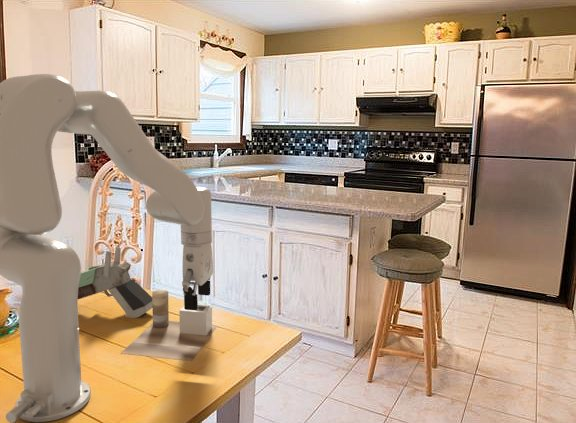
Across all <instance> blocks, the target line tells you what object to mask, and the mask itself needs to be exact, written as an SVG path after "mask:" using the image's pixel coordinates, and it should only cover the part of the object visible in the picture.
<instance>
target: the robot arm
mask: <svg viewBox="0 0 576 423" xmlns="http://www.w3.org/2000/svg"><path fill="white" fill-rule="evenodd" d="M57 132H58V133H59V132H61V133H68V134H76V135H77V134H78V135H91V136H92V137H93V138H94V140H95V141H96V142H97V143H98V145H99V146H100V147H101V148H102V150H103V151H104V152H105V154H106V155H107V156H108V157H109V159H110V160H111V161H112V163H113V164H114V166H115V167H116V168H117V170H119V171H120V172H121V173H122V174H124V175H125V176H126V177H129V178H130V179H132V180H134V181H136V182H138V183H140V184H142V185H144V186H146V187H149V188H150V189H152V190H154V191H153V192H151V193H150V195H148V197H147V199H146V202H145V209H146V212H147V213H148V215H149V216H150V217H151V218H153V220H154V219H155V220H156V221H161V222H164V223H169V224H170V223H171V224H176V225H180V244H181V245H183V246H182V247H183V248H182V282H181V285H182V292H183V293H182V294H183V296H184V297H183V302H184V304H183V306H184V308H185V310H197V309H198V305H199V304H198V295H199V296H210V295H211V277H212V276H213V274H214V260H213V248H212V243H213V234H212V233H213V230H212V228H213V226H212V225H213V224H212V223H213V222H212V193H211V191H210V189H209V188H207V187H204V186H196V185H195V183H194V182H193V180H192V179H191V178H190V177H189V176H188V174H186V172H184V170H182V169H181V168H180V167H179V166H178V165H176V164H175V163H174V162H173V161H171V159H169V158H168V157H167V156H165V155H164V154H163V153H161V152H160V151H158V150H157V149H156V148H155V147H154V145H153V143H152V142H151V141H150V140H149V138H148V136H146V134H145V133H144V131H143V129H142V128H141V126H140V125H139V124H138V122H137V120H136V119H135V117H134V116H133V114H132V113H131V112H130V110H129V109H128V108H127V105H125V103H124V102H123V100H122V99H121V98H120V97H119V96H118V95H116V94H115V93H112V92H111V91H106V90H83V91H82V90H81V91H79V90H75V89H74V86H73V85H72V84H71V82H69V80H67V79H65V78H64V77H62V76H60V75H57V74H50V73H38V74H37V73H36V74H29V75H21V76H13V77H8V78H6V79H4V80H2V81H1V82H0V277H3V278H4V279H6V280H8V281H10V282H13V283H14V284H17V285H18V286H20V287H21V289H22V295H21V299H20V304H19V309H18V328H19V340H20V341H19V342H20V352H21V354H20V355H21V364H22V366H21V367H22V381H23V391H21V392H20V396H19V397H18V398H17V400H16V402H15V406H14V407H13V408H12V409H11V410H9V411H8V412H7V413H6V414H5V419H6V421H7V422H8V423H15V422H16V421H17V420H19V419H21V420H23V421H26V422H30V423H31V422H32V423H46V422H51V421H57V420H60V419H63V418H66V417H68V416H70V415H72V414H74V413H76V412H78V411H79V410H81V409H82V408H83V407H85V406H86V405H87V403H88V402H89V400H90V399H91V396H92V392H91V391H92V390H91V386H90V385H89V384H88V383H87V382H85V381H83V380H82V371H81V370H82V366H81V351H80V350H81V349H80V348H81V346H80V327H79V326H80V325H79V306H78V304H79V303H78V301H79V299H78V288H79V282H80V276H81V272H82V264H81V260H80V257H79V255H78V254H77V252H76V251H75V250H74V249H73V247H71V246H70V245H68V244H66V243H65V242H62V241H61V240H57V239H54V238H51V237H47V236H43V234H44V235H45V234H47V233H50V232H51V231H53V230H55V229H56V228H57V227H58V225H59V224H60V222H61V220H62V217H63V216H62V215H63V211H62V210H63V209H62V202H61V197H60V194H59V193H60V192H59V188H58V184H57V183H58V182H57V179H56V173H55V168H54V162H53V155H52V153H53V152H52V148H53V142H54V139H55V137H56V134H57ZM191 286H192V287H191Z"/></svg>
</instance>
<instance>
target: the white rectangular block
mask: <svg viewBox="0 0 576 423" xmlns="http://www.w3.org/2000/svg"><path fill="white" fill-rule="evenodd" d="M179 322H180V333H186V334H196V335H207V334H208V333H209V331H210V330H211V329H212V325H213V306H212V305H204V304H203V305H202V304H198V309H197V310H185V308H184V305H183V307H181V308H180V309H179Z"/></svg>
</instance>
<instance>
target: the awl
mask: <svg viewBox="0 0 576 423" xmlns="http://www.w3.org/2000/svg"><path fill="white" fill-rule="evenodd" d="M151 297H152V308H151V309H152V324H153V327H154V328H165V327H167V326H168V325H169V321H170V320H169V313H170V312H169V311H170V310H169V291H168V290H166V289H157V290H153V291H152V294H151Z"/></svg>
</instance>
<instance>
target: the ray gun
mask: <svg viewBox="0 0 576 423" xmlns="http://www.w3.org/2000/svg"><path fill="white" fill-rule="evenodd" d="M121 250H122V248H121V247H118V246H116V247H115V251H114V259H113V261H112V251H109V250H106V253H105V257H104V264H101V265H94V266H93V265H92V266H90V267H89V268H88V269H85V270H83V271H81V276H80V282H79V288H78V300H80V299H84V298H88V297H90V296H93V295H96V294H99V293H102V292H103V293H104V294H105V295H106V297H113V298H114V300H115V301H116V302H117V304H118V305H119V306H120V307H121V309H122V310H123V311H124V312H125V314H124V318H132V319H137V318H139V317H141V316H142V315H144V314H146V313H147V312H149V311H150V310H152V309H153V308H152V295H150V294H149V293H148V292H147V291H146V289H144V288H143V287H142V286H141V285H140V284H139V283H138V282H137V281H136V280H135V279H134V278H132V279H131V275H130V273H129V271H130V268H131V266H132V264H131V263H129V262H127V261H126V262H124V263H121Z"/></svg>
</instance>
